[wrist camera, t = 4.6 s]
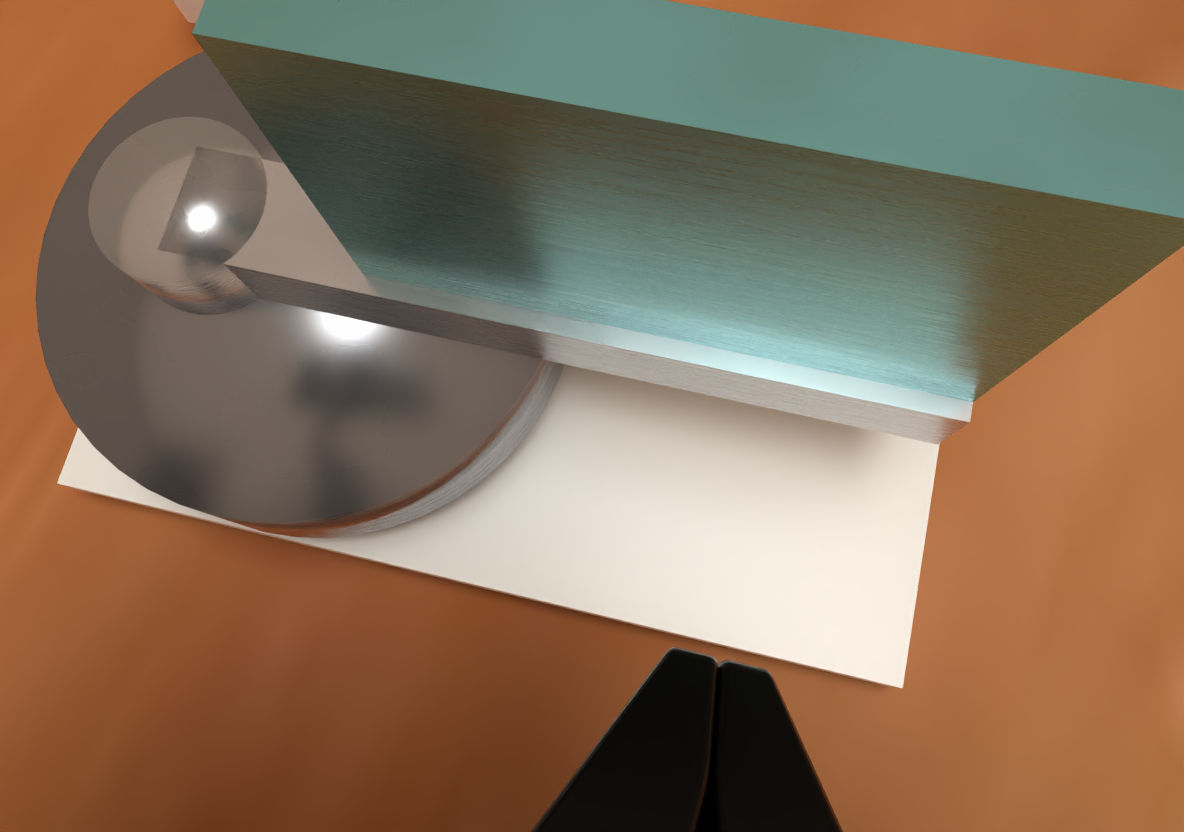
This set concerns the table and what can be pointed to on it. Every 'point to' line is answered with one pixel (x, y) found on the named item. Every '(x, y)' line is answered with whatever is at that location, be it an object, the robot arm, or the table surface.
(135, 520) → the table surface
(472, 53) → the cam foot
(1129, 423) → the table surface
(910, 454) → the plate
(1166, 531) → the table surface
